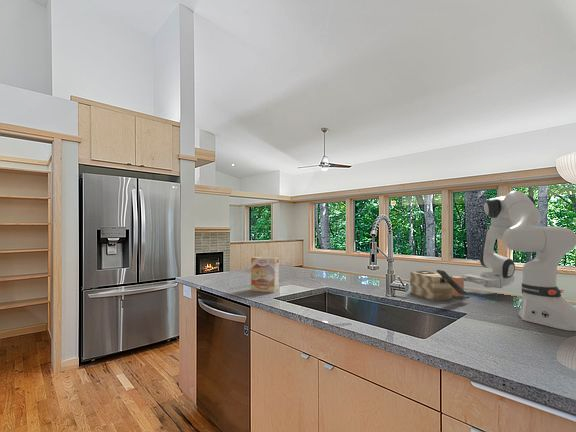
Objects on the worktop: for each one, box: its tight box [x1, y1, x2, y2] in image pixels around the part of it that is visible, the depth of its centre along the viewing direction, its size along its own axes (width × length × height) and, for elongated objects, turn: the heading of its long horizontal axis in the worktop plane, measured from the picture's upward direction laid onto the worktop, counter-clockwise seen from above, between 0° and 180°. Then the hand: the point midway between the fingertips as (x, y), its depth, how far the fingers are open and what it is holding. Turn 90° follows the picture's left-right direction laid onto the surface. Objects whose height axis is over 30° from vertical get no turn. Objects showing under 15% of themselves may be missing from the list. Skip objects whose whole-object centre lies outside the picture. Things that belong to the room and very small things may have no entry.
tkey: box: [436, 269, 468, 296], centre depth 160 cm, size 8×2×19 cm
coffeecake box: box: [250, 256, 280, 294], centre depth 183 cm, size 15×7×20 cm, turn 71°
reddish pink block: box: [451, 275, 465, 297], centre depth 171 cm, size 5×5×10 cm
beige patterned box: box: [409, 270, 453, 301], centre depth 172 cm, size 18×12×13 cm, turn 18°
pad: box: [452, 295, 470, 300], centre depth 171 cm, size 9×9×1 cm
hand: (470, 280), depth 175 cm, fingers open, 8 cm apart
